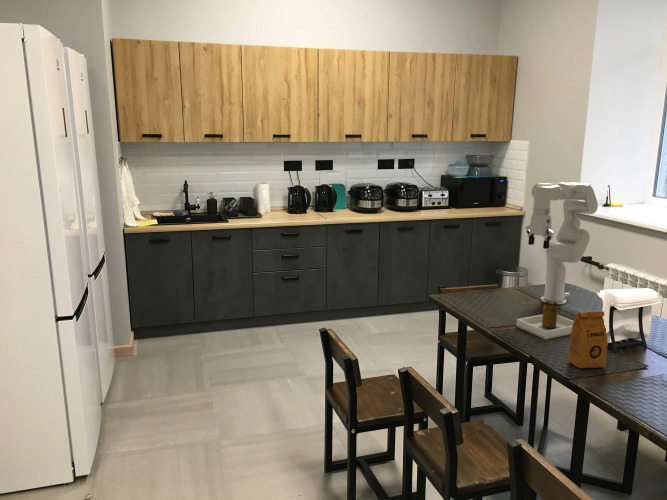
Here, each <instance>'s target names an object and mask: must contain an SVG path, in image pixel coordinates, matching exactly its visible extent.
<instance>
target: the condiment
mask: <svg viewBox="0 0 667 500" xmlns="http://www.w3.org/2000/svg"><path fill="white" fill-rule="evenodd" d="M542 310H543V311H542V314H543V318H542V325H541V326H538V327H541V328H544V329H548V330H553V329H557V328H561V327H558V326H556V321H557V315H558V304H557V303H556V302H554V301H546V302H544V306H543V309H542Z"/></svg>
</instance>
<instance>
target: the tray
mask: <svg viewBox="0 0 667 500" xmlns="http://www.w3.org/2000/svg"><path fill="white" fill-rule="evenodd" d="M542 318H543V313H541V314H537V315H531V316H527V317H526V316H525V317H521V318H517V319H516V325H515V326H516V328H519V329H522V330H524V331H526V332H528V333H530V334H532V335H534V336H537V337H539V338H542V339H543V340H549V339H554V338H558V337H559V338H560V337H563V336H568V335H571V330H572V326H573V323H574V320H572V319H569V318H567V317H565V316H562V315H560V314H557V321H556V326H558V327H561V328H557V329H553V330H548V329H544V328H541V327H538V326H541V325H542Z"/></svg>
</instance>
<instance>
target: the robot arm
mask: <svg viewBox="0 0 667 500" xmlns="http://www.w3.org/2000/svg"><path fill="white" fill-rule="evenodd" d="M531 195H532V197H533V208H532V214H531V217H530V222H529V225H527V226H525V229H526V233H527V236H528V243H527V244H528V245H529V246H533V245H535V238H536V237H535V236H540V237H543V239H544V240H543V244H542V248H543V249H546V250H545V254H546V273H545V285H544V294H543V296H541V297H540V300H541V302H543V303H545V302H546V301H554V302H556V303H557V305H564V304H566V303H567V299H566V297H570V296H571V294H570V293H571V292H565V288H566V287H565V285H566V284H565V283H566V275H567V269H566V265H565V264H564V263H568V264H578V263H579V262H580V261H581V260H582V257H583V256H584V253H585V252H586V249H587V247H588V246H589V242H590V239H591V235H590V233H589V231H588V230H586V229H585V228H584V229H583V228H580V226H581V225H582V224H581V220H580V218H579V216H577V214H583V215H585V214H586V215H593V214H595V213H596V212H597V210H598V207H599V204H598V199H597V196H596V193H595V190H594V187H593V186H592V185H591V184H590V183H584V182H549V183H548V182H547V183H546V182H545V183H544V182H543V183H542V182H540V183H535V184H534V185H533V186H532V188H531ZM559 200H560V201H561V200H563V203H562V204H563V205H562V206H563V207H562V209H563V218H564V219H563V222H562V224H561V226H560V228H559V230H558V231H557V234H556V237H555V238H556V241H557V242H556V241H555V242H552V239H553V237H554V235H555V232H554V231H553V230H552V217H551V211H550V210H551V201H559ZM550 241H551V242H550Z"/></svg>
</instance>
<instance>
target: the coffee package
mask: <svg viewBox="0 0 667 500" xmlns="http://www.w3.org/2000/svg"><path fill="white" fill-rule="evenodd" d="M575 317H576V319H575V318H574V320H573V321H574V323H573V326H572V330H571V334H570V339H569V340H570V341H569V349H568V350H569V351H568V352H569V353H568V362H569V363H570V364H572V365H573V366H575V367H577V368H579V369H589V368H590V369H596V368H597V369H598V368H604V367H605V366H606V364H607V363H606V362H607V351H608V344H609V342H608V341H609V340H608V335H607V334H608V333H606V328H605V325H604V321H605V319H604V317H605V311H584V312H578V313H577V315H576V316H575Z"/></svg>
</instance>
